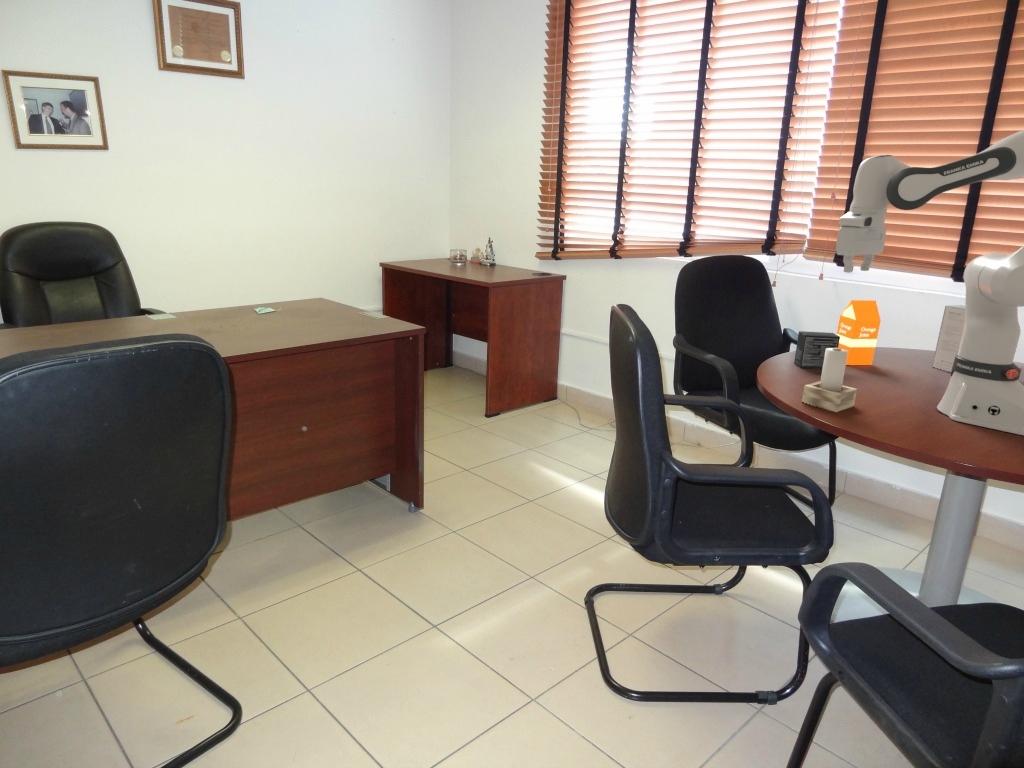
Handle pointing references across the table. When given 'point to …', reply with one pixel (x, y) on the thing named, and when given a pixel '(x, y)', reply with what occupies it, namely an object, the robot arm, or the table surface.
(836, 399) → the open wooden box
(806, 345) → the small box
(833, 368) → the paper roll
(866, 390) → the table surface
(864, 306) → the orange juice
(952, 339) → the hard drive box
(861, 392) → the table surface
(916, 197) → the robot arm
